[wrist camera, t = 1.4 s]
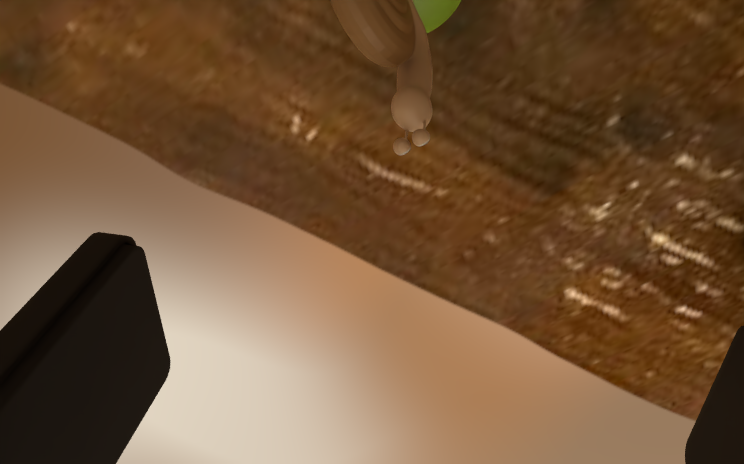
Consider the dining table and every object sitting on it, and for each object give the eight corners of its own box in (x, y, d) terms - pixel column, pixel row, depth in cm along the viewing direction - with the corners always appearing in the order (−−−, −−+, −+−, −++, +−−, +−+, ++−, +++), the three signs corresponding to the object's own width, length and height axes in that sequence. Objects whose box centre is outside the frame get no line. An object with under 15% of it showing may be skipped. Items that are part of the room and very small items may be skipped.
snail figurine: (400, 56, 30) (341, 188, 21) (323, -74, 28) (214, 7, 18) (508, -3, 28) (498, 114, 18) (435, -151, 25) (377, -106, 16)
